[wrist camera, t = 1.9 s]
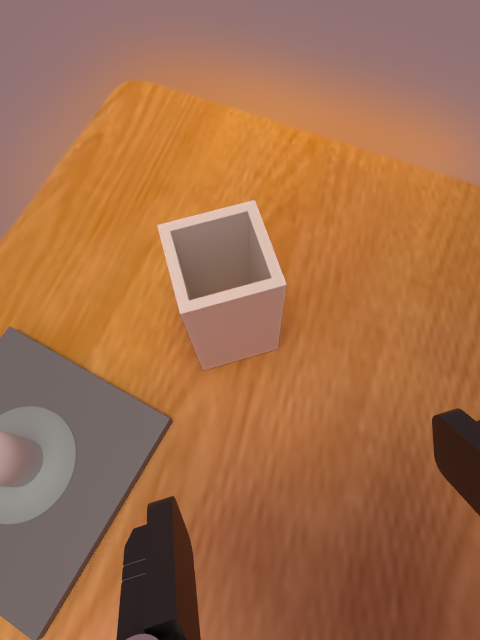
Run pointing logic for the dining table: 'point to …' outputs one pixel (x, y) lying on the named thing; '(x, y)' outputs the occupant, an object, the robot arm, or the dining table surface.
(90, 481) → the post plate
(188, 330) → the sleeve
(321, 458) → the dining table surface
